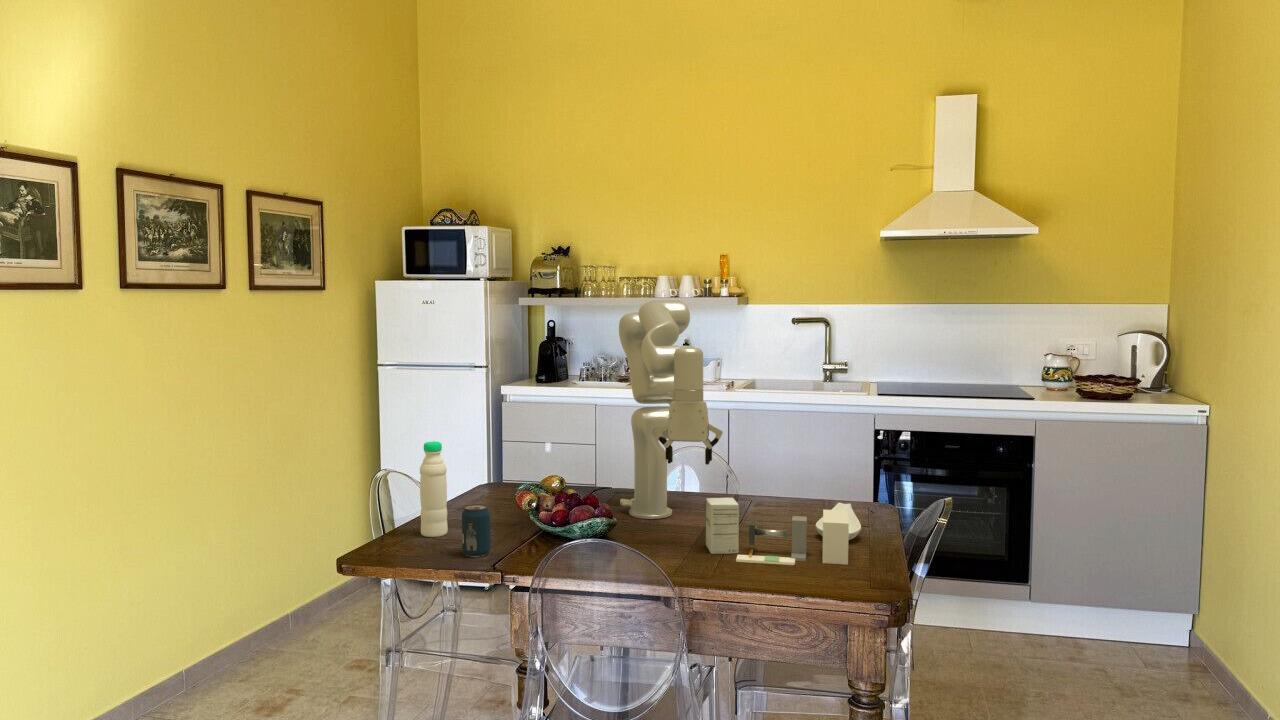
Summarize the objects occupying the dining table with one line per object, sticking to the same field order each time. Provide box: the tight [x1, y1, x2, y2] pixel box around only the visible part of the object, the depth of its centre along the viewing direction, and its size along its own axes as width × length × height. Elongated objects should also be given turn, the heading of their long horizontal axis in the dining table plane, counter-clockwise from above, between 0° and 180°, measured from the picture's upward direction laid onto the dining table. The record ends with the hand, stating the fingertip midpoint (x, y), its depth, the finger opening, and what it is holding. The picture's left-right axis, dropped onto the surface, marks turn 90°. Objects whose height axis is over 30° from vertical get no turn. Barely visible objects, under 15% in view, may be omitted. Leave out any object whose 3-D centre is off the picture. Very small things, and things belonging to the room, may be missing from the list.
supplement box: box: [705, 497, 740, 555], centre depth 231 cm, size 7×7×13 cm
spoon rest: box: [815, 502, 862, 542], centre depth 247 cm, size 24×12×7 cm, turn 161°
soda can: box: [461, 503, 492, 557], centre depth 227 cm, size 7×7×12 cm
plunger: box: [748, 518, 789, 556], centre depth 226 cm, size 10×10×6 cm
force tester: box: [735, 509, 849, 566], centre depth 226 cm, size 26×16×10 cm, turn 78°
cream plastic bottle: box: [419, 440, 449, 538], centre depth 244 cm, size 7×7×25 cm
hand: (688, 463), depth 232 cm, fingers open, 9 cm apart
